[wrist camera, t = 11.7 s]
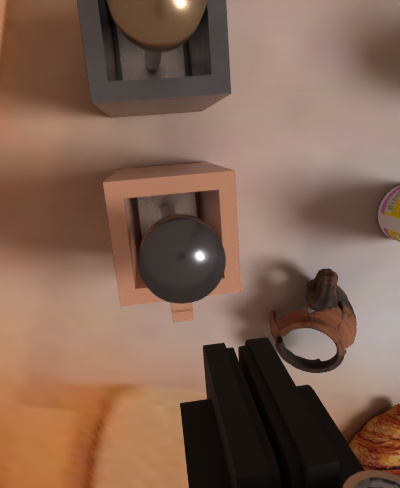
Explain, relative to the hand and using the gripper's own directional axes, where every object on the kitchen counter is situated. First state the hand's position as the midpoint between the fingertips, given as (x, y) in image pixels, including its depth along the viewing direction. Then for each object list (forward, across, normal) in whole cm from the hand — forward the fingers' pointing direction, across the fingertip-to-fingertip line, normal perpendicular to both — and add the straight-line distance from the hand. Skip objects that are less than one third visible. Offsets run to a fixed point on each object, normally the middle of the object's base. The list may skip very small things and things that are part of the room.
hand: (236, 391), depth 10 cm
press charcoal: (+32, +1, -14) cm, 35 cm away
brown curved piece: (+32, -15, +14) cm, 38 cm away
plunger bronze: (+31, +1, -13) cm, 34 cm away
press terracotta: (+32, +1, +2) cm, 32 cm away
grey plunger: (+31, +1, +1) cm, 31 cm away
